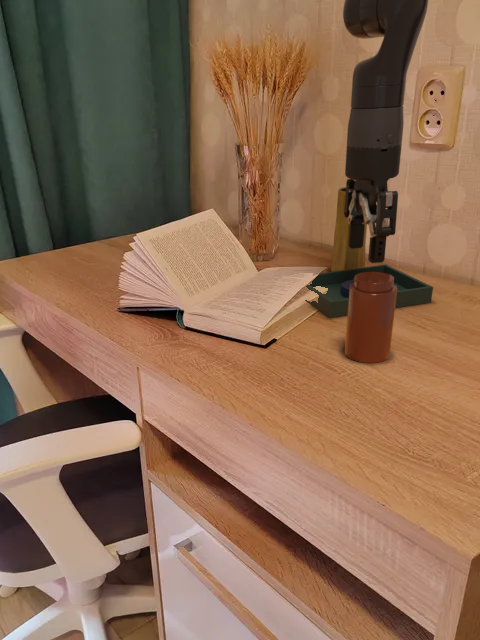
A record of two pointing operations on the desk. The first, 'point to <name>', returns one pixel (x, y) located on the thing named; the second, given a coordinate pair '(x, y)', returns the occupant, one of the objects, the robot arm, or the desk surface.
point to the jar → (370, 317)
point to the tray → (333, 301)
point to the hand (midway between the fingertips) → (365, 254)
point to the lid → (346, 288)
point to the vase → (345, 241)
